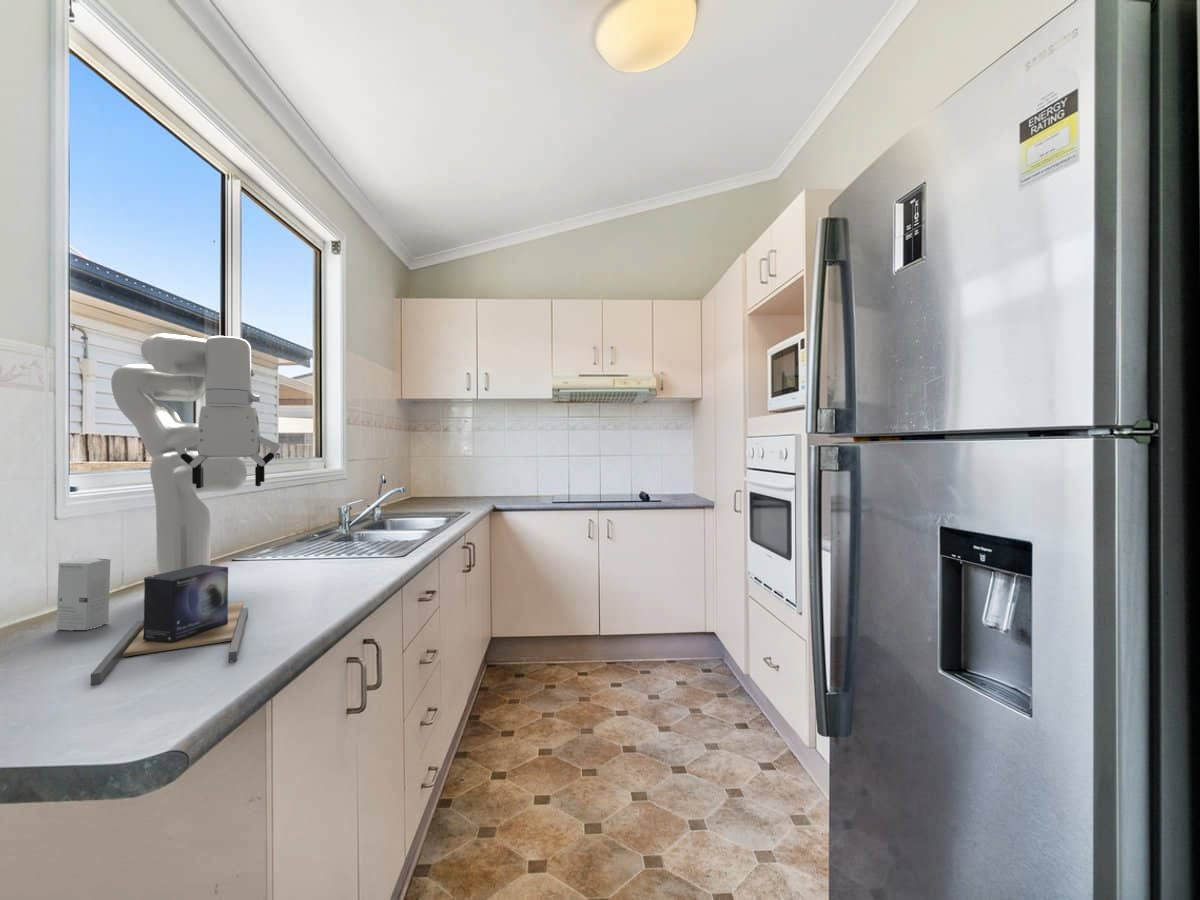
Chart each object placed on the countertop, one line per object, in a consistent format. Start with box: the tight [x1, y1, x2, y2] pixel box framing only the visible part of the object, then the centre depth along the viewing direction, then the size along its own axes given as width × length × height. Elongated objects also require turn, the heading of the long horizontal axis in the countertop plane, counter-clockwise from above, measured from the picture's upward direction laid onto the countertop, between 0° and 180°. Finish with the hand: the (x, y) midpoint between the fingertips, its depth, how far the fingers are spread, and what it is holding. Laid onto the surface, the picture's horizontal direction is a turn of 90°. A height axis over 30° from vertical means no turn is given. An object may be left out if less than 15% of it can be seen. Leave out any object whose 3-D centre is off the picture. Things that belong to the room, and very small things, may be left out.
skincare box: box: [56, 557, 111, 631], centre depth 98 cm, size 6×4×12 cm
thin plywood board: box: [122, 601, 244, 658], centre depth 98 cm, size 24×14×6 cm, turn 30°
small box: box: [143, 564, 229, 643], centre depth 93 cm, size 11×6×10 cm, turn 169°
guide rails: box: [90, 607, 249, 686], centre depth 90 cm, size 26×17×2 cm, turn 30°
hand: (229, 486), depth 108 cm, fingers open, 9 cm apart
